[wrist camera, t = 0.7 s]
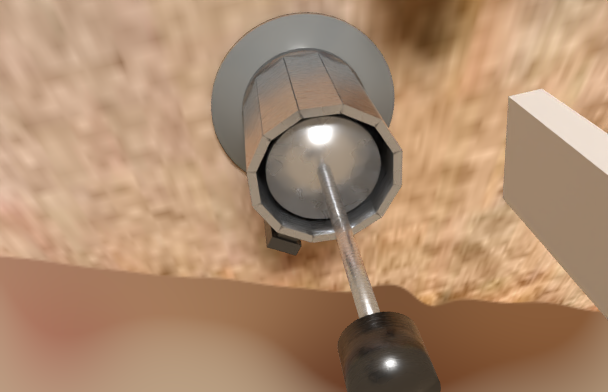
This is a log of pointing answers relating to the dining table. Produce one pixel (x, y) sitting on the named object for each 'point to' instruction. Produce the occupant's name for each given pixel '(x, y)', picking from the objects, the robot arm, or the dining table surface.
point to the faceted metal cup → (304, 104)
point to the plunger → (349, 246)
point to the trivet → (285, 37)
